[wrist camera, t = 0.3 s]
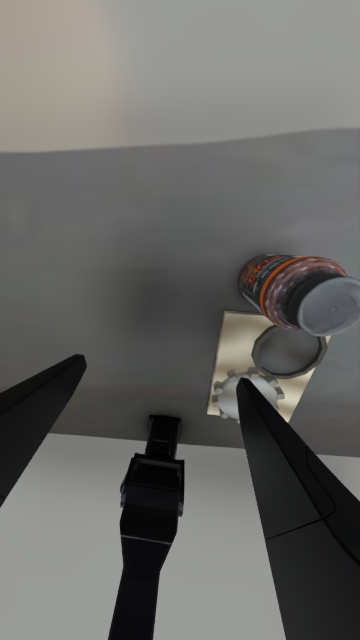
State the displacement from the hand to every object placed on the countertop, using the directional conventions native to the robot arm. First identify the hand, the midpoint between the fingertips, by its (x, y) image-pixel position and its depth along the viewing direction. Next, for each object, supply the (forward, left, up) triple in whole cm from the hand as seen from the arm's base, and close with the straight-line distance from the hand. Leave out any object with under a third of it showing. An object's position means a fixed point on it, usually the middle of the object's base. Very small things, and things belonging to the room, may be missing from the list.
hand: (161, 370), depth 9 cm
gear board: (-11, -13, -14) cm, 22 cm away
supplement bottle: (+4, -10, -14) cm, 18 cm away
